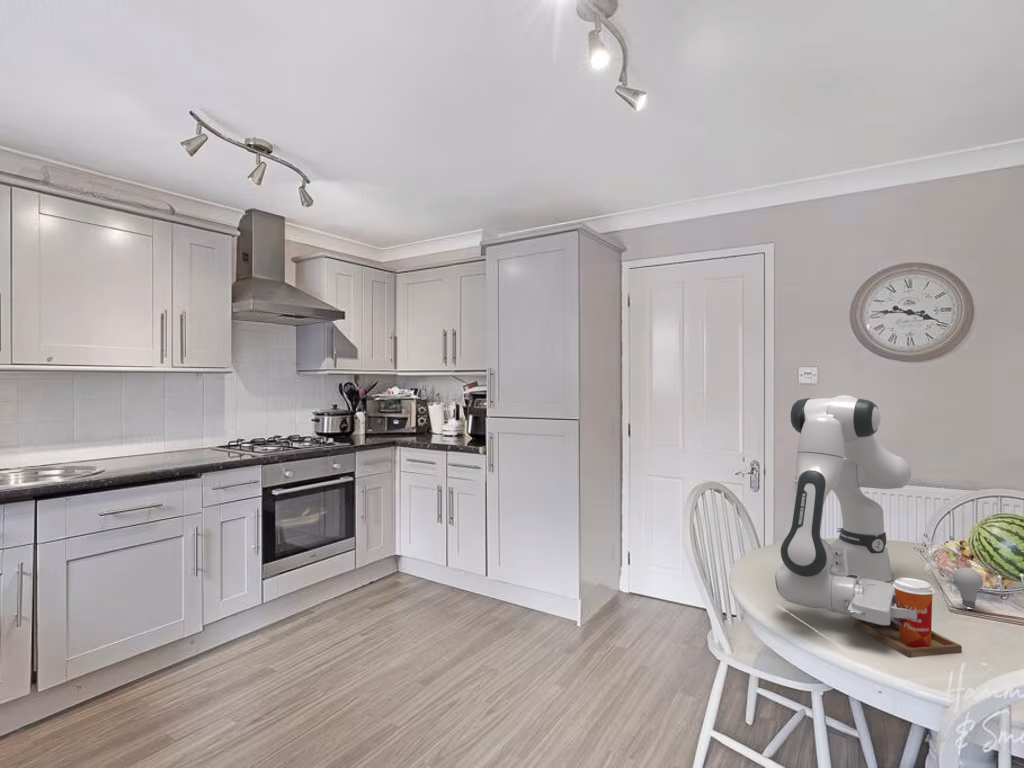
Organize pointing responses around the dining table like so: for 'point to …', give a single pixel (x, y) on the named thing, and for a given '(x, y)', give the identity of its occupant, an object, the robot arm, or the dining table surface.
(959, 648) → the tray
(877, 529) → the robot arm
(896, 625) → the part
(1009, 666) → the dining table surface
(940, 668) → the dining table surface
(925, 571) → the dining table surface
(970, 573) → the lightbulb
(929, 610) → the paper cup
